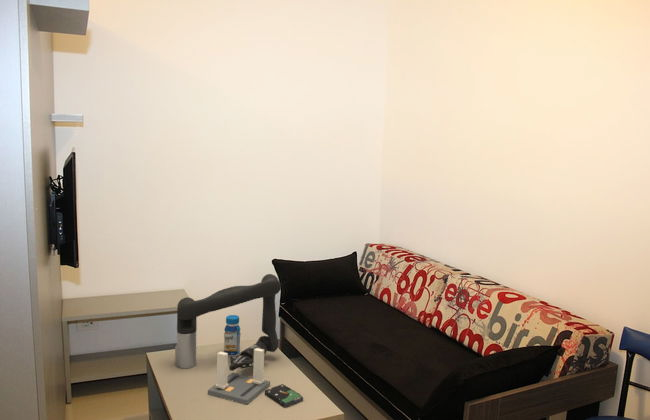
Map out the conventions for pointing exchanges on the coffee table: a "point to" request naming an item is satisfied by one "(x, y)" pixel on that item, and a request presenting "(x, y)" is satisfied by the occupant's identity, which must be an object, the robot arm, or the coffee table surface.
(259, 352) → the beige tall rectangular block
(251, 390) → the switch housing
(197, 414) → the coffee table surface
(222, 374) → the beige square pillar
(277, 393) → the disk drive
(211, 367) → the coffee table surface
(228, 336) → the beverage bottle
